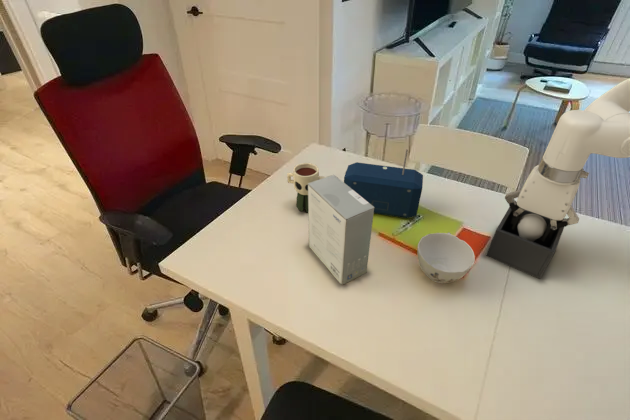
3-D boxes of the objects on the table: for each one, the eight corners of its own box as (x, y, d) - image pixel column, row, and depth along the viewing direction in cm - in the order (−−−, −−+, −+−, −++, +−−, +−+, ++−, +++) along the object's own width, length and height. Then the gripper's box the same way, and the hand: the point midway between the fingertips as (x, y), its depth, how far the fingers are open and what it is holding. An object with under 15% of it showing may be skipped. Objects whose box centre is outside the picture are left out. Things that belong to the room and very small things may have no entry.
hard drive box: (367, 273, 89) (376, 208, 77) (341, 286, 86) (345, 220, 74) (332, 235, 100) (334, 173, 87) (307, 246, 96) (306, 182, 84)
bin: (551, 249, 95) (565, 223, 90) (539, 279, 88) (554, 252, 82) (500, 229, 101) (511, 203, 96) (485, 255, 94) (496, 229, 88)
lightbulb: (536, 260, 91) (553, 226, 84) (509, 256, 92) (524, 222, 85) (532, 244, 96) (547, 210, 89) (506, 240, 97) (519, 206, 90)
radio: (416, 203, 110) (429, 143, 98) (415, 221, 104) (428, 159, 91) (347, 193, 115) (351, 134, 102) (341, 210, 108) (345, 149, 95)
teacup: (463, 302, 82) (472, 278, 77) (407, 285, 86) (412, 261, 81) (469, 257, 93) (478, 233, 88) (419, 243, 97) (425, 220, 92)
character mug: (285, 212, 108) (283, 174, 99) (292, 197, 113) (290, 160, 105) (322, 216, 106) (323, 178, 98) (327, 202, 111) (328, 164, 103)
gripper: (608, 175, 77) (571, 238, 88) (520, 150, 85) (496, 211, 97) (604, 192, 72) (565, 257, 84) (511, 164, 81) (487, 226, 92)
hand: (529, 231), depth 90 cm, fingers closed on lightbulb, 6 cm apart
